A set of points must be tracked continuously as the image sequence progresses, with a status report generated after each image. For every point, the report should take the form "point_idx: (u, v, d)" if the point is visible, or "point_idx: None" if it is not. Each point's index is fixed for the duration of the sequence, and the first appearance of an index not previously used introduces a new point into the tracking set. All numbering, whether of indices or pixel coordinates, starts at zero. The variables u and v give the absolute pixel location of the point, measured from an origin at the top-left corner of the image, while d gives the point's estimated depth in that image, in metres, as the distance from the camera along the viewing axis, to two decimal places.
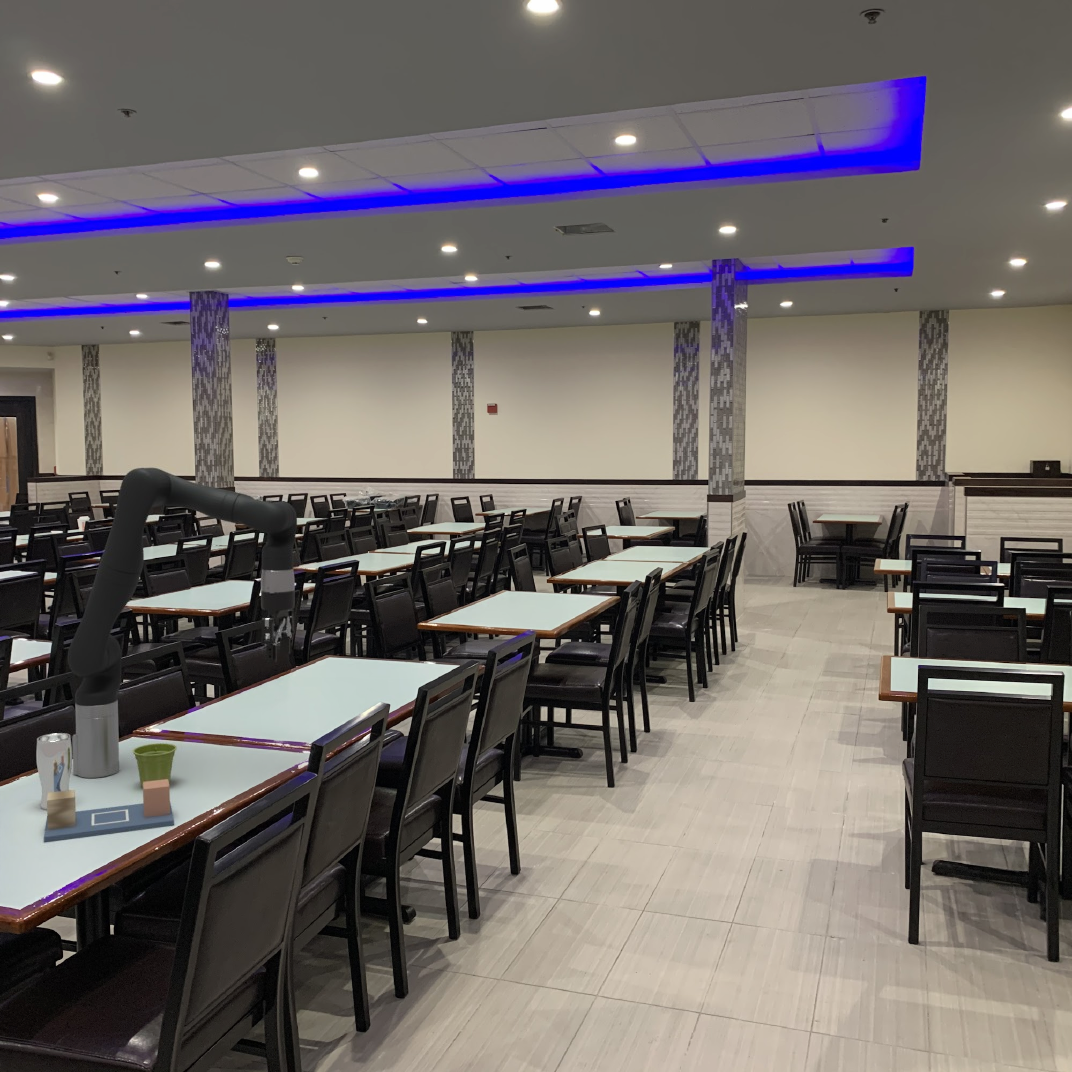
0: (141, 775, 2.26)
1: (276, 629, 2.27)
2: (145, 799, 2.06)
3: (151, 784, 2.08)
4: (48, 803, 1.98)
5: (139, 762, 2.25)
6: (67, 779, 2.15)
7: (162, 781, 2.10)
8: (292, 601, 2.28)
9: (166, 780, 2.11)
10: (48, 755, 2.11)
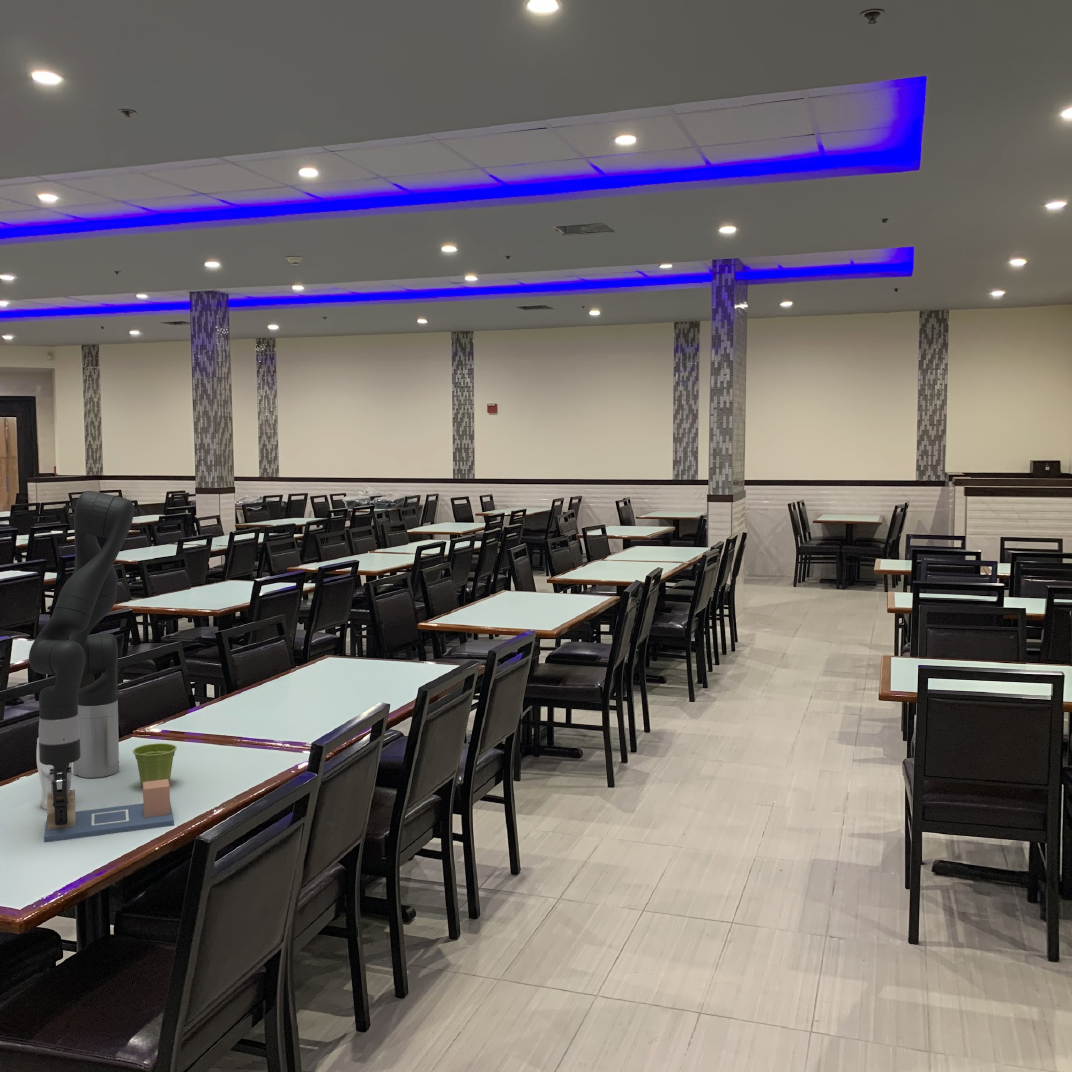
0: (141, 775, 2.26)
1: None
2: (145, 799, 2.06)
3: (151, 784, 2.08)
4: (48, 803, 1.98)
5: (139, 762, 2.25)
6: None
7: (162, 781, 2.10)
8: None
9: (166, 780, 2.11)
10: None
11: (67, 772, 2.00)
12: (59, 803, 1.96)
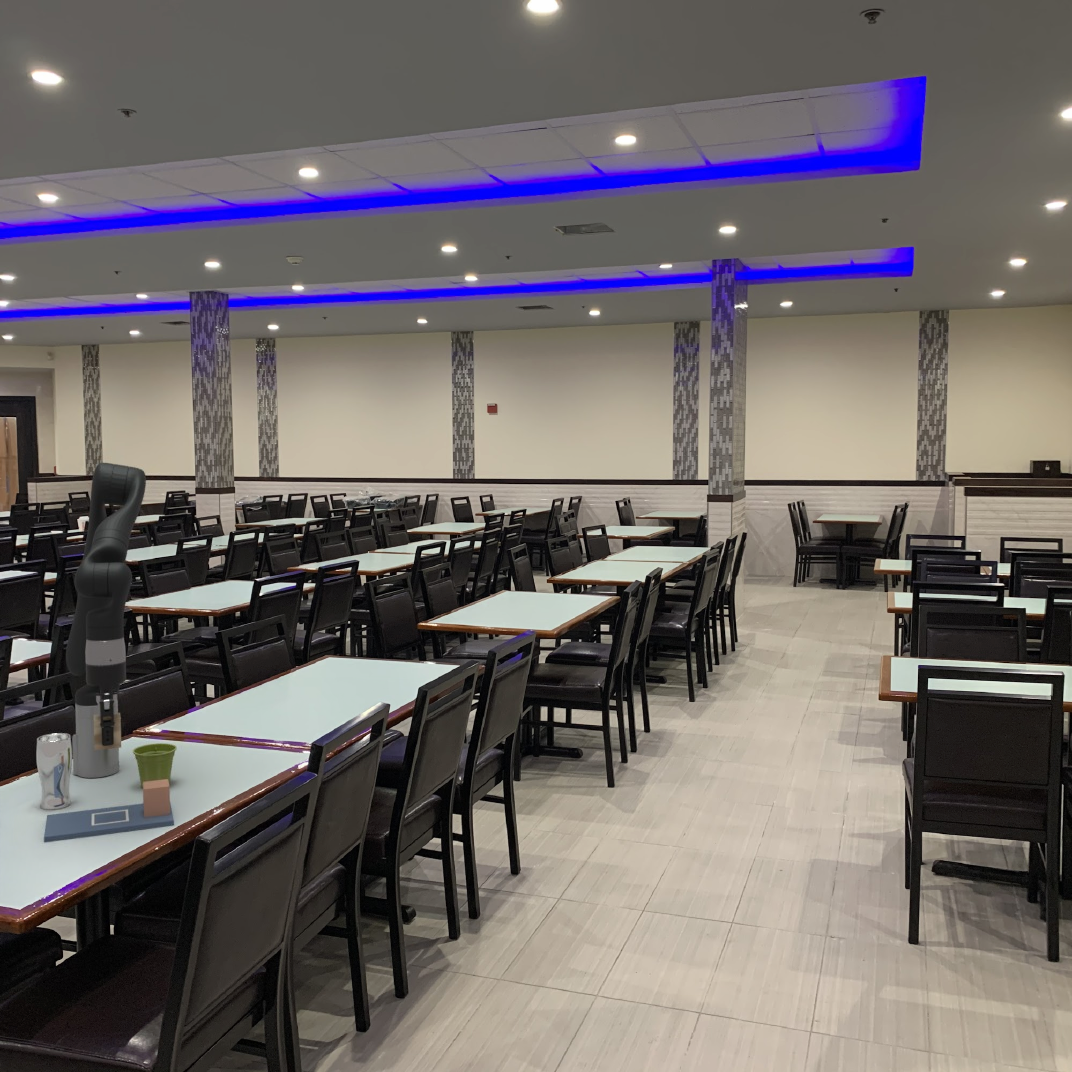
0: (141, 775, 2.26)
1: None
2: (145, 799, 2.06)
3: (151, 784, 2.08)
4: (95, 724, 2.01)
5: (139, 762, 2.25)
6: (67, 779, 2.15)
7: (162, 781, 2.10)
8: None
9: (166, 780, 2.11)
10: (48, 755, 2.11)
11: (113, 694, 2.02)
12: (106, 723, 1.99)
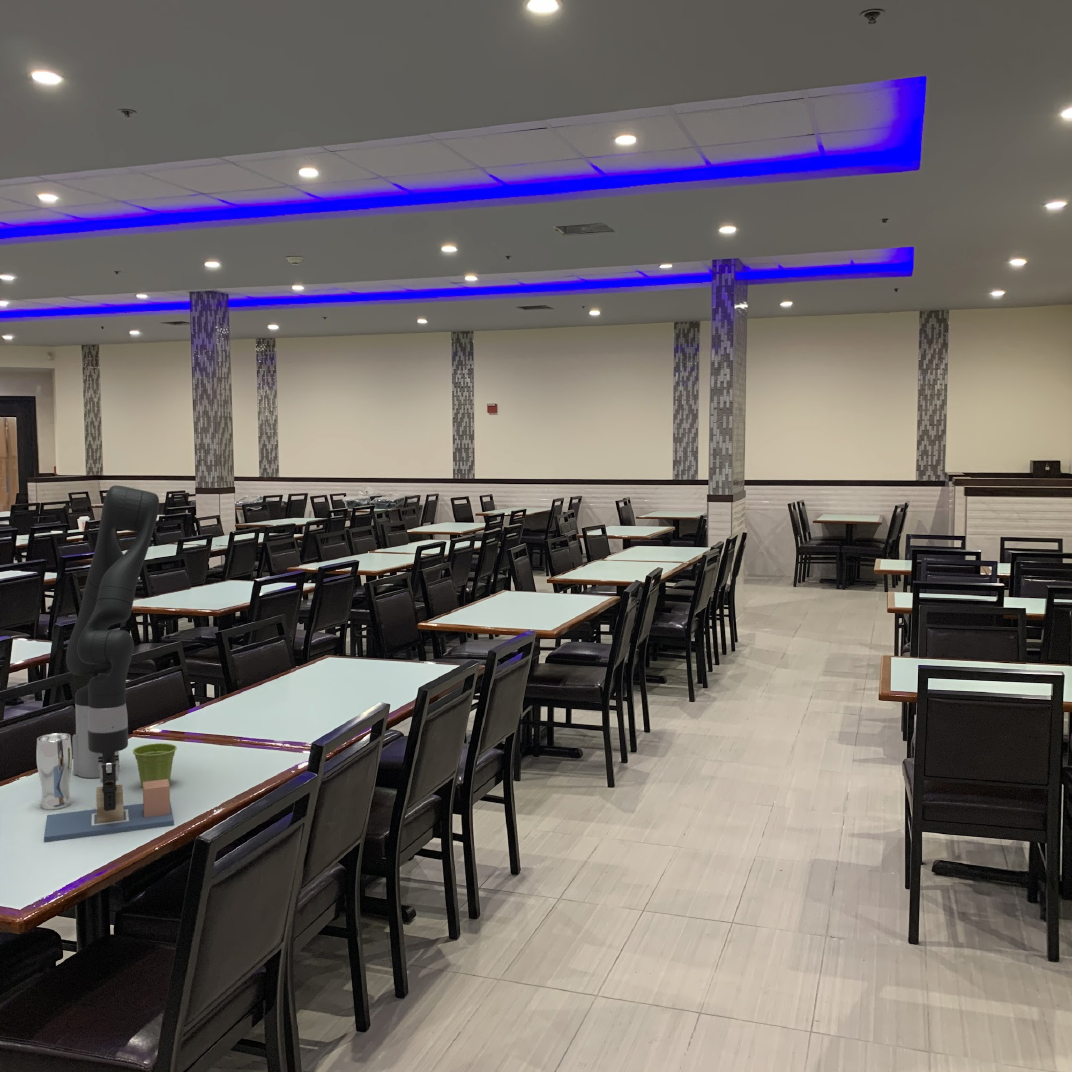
0: (141, 775, 2.26)
1: None
2: (145, 799, 2.06)
3: (151, 784, 2.08)
4: (97, 797, 2.02)
5: (139, 762, 2.25)
6: (67, 779, 2.15)
7: (162, 781, 2.10)
8: None
9: (166, 780, 2.11)
10: (48, 755, 2.11)
11: (115, 760, 2.03)
12: (108, 789, 1.98)
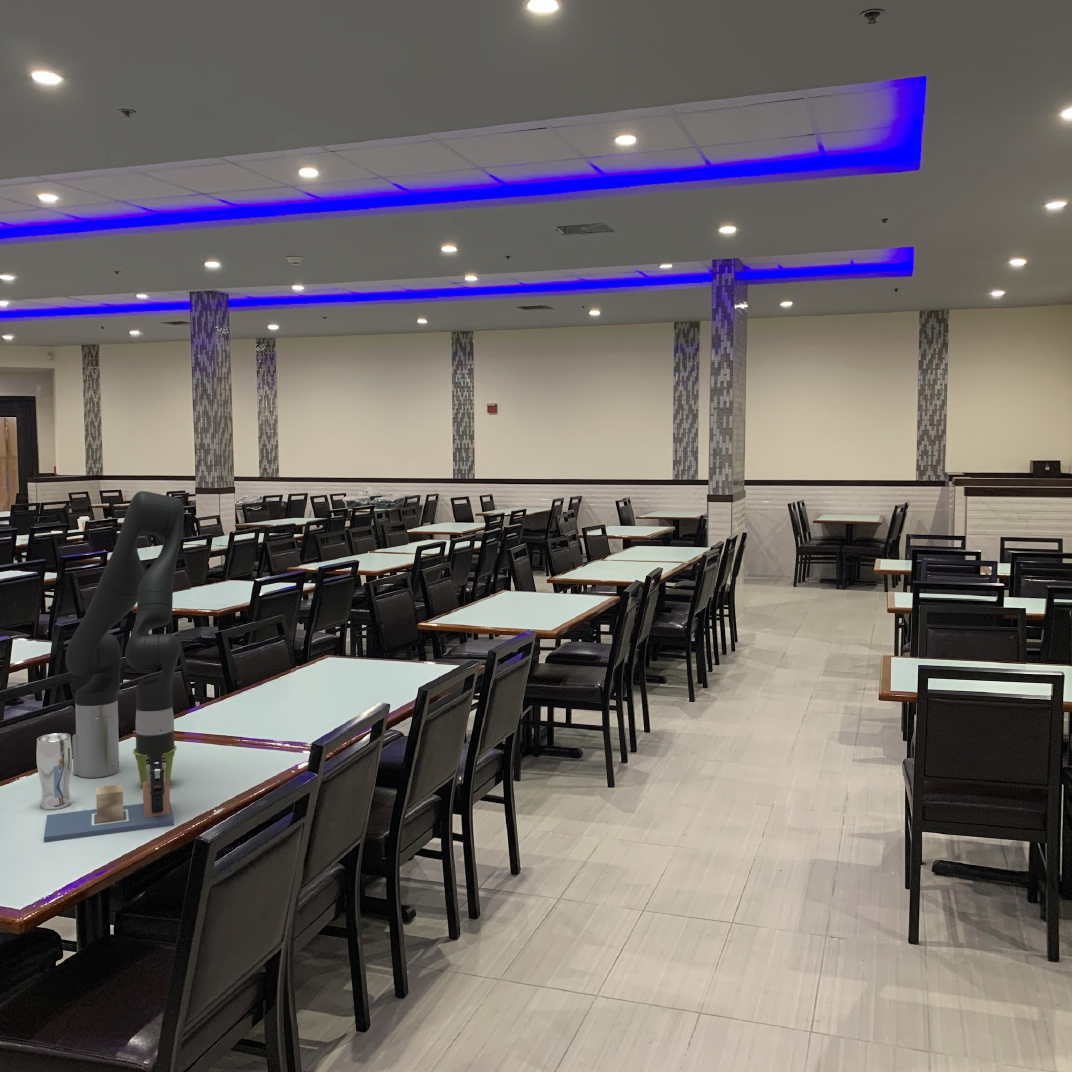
0: (141, 775, 2.26)
1: None
2: (145, 799, 2.06)
3: None
4: (97, 797, 2.02)
5: (139, 762, 2.25)
6: (67, 779, 2.15)
7: None
8: None
9: (166, 780, 2.11)
10: (48, 755, 2.11)
11: (162, 762, 2.07)
12: (156, 792, 2.03)
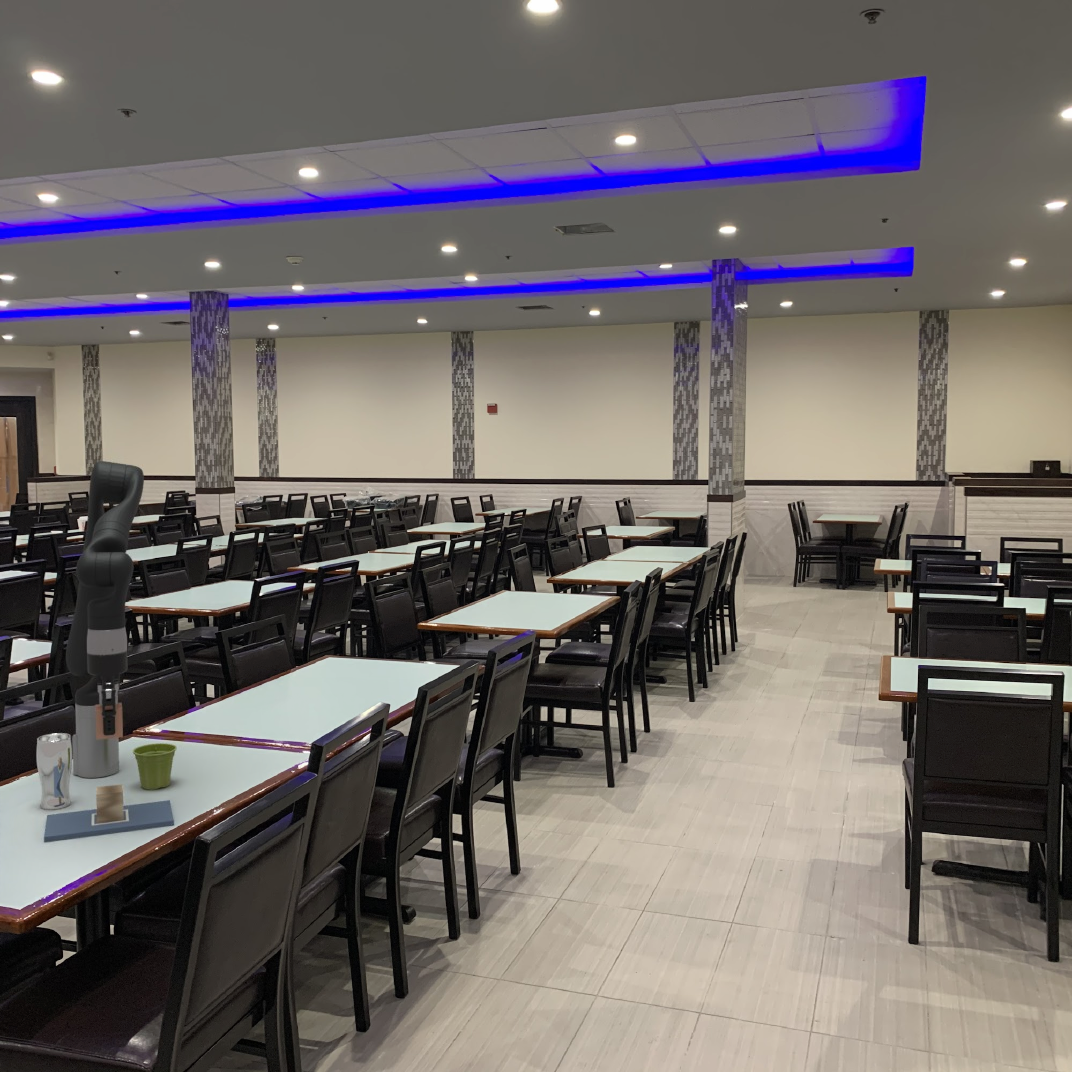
0: (141, 775, 2.26)
1: None
2: (97, 721, 2.01)
3: None
4: (97, 797, 2.02)
5: (139, 762, 2.25)
6: (67, 779, 2.15)
7: None
8: None
9: (119, 703, 2.06)
10: (48, 755, 2.11)
11: (115, 683, 2.02)
12: (108, 712, 1.99)
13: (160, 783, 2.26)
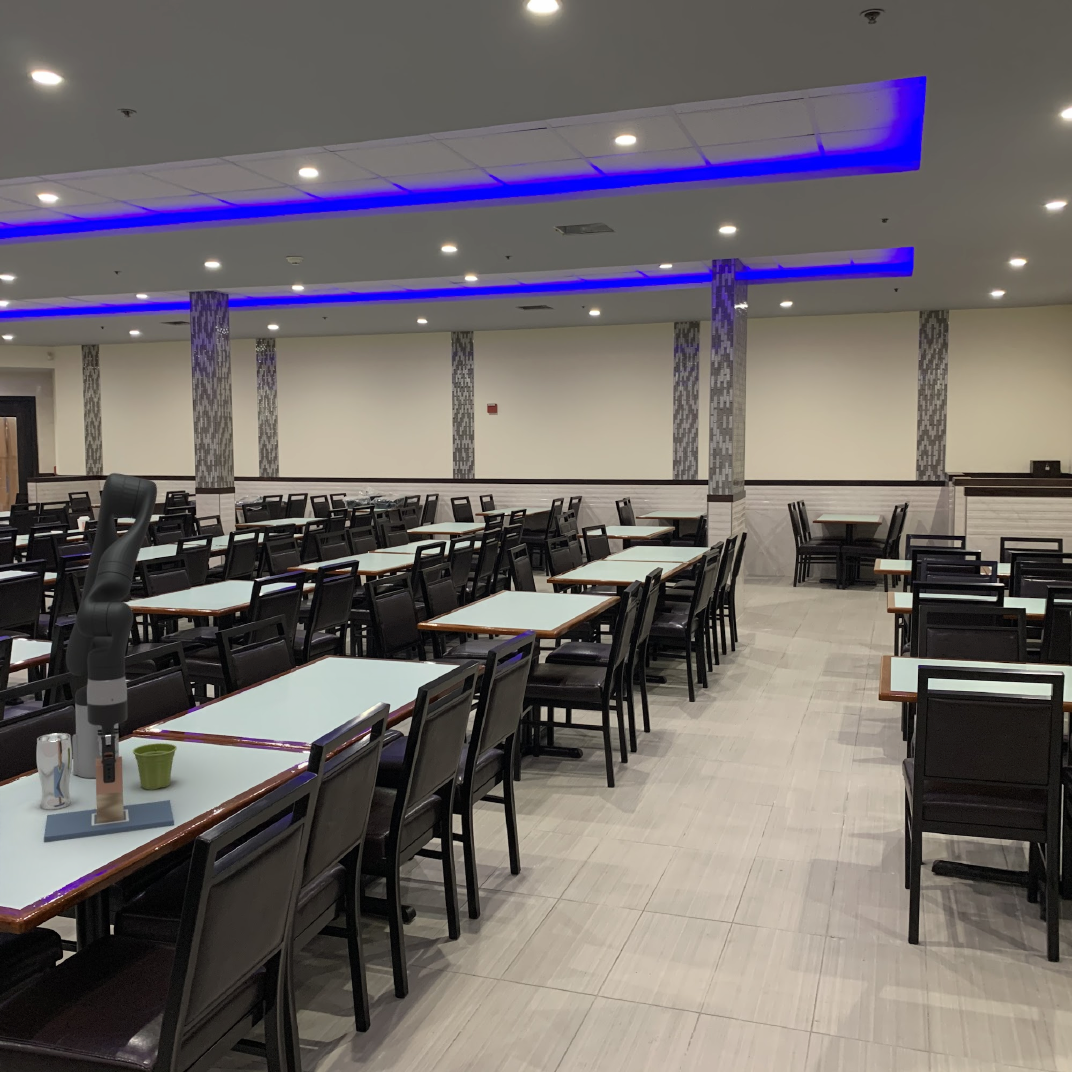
0: (141, 775, 2.26)
1: None
2: (97, 776, 2.02)
3: None
4: (97, 797, 2.02)
5: (139, 762, 2.25)
6: (67, 779, 2.15)
7: (115, 758, 2.06)
8: None
9: (120, 757, 2.07)
10: (48, 755, 2.11)
11: (115, 733, 2.03)
12: (108, 761, 1.98)
13: (160, 783, 2.26)
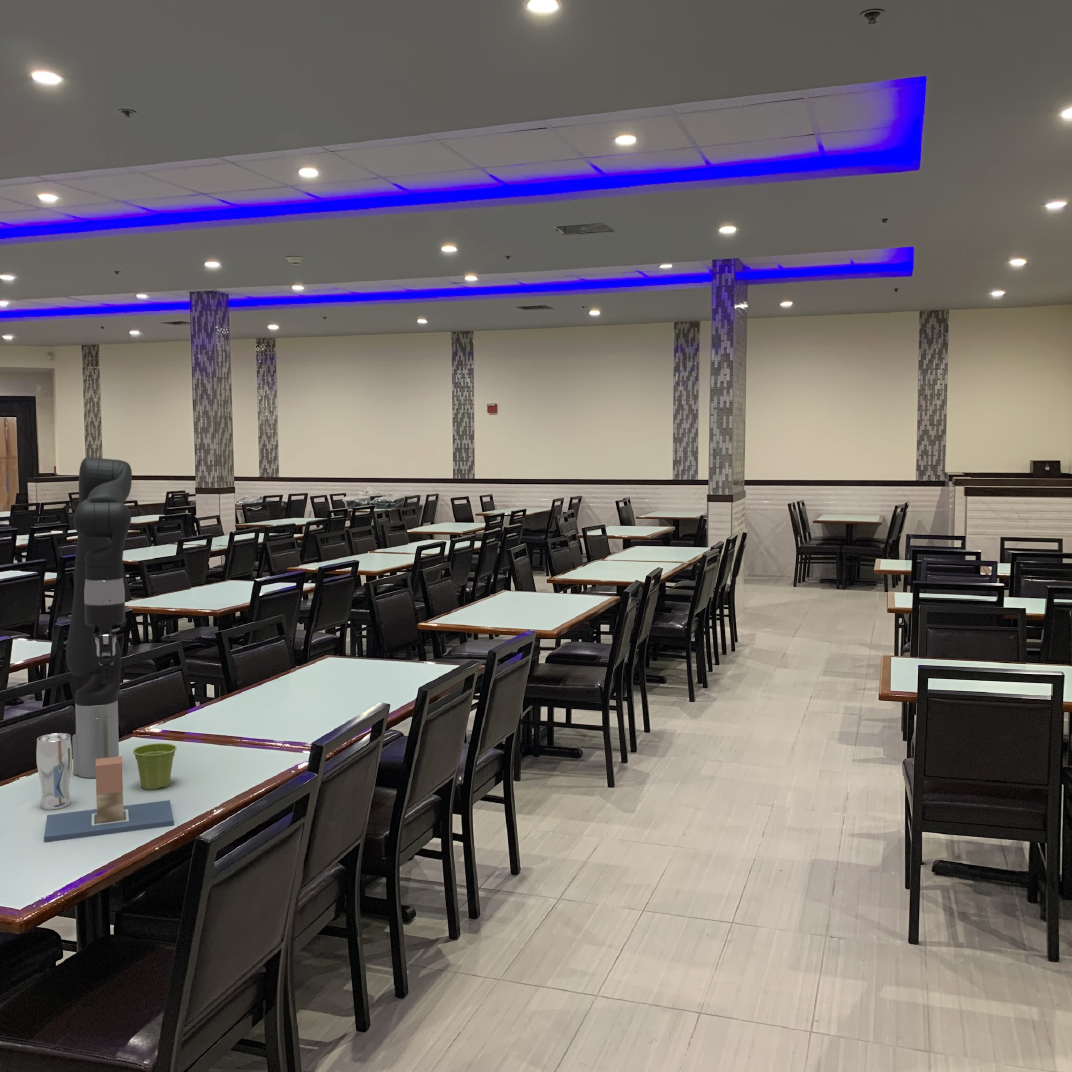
0: (141, 775, 2.26)
1: None
2: (97, 776, 2.02)
3: (104, 761, 2.04)
4: (97, 797, 2.02)
5: (139, 762, 2.25)
6: (67, 779, 2.15)
7: (115, 758, 2.06)
8: None
9: (120, 757, 2.07)
10: (48, 755, 2.11)
11: (112, 634, 2.01)
12: (105, 660, 1.96)
13: (160, 783, 2.26)
